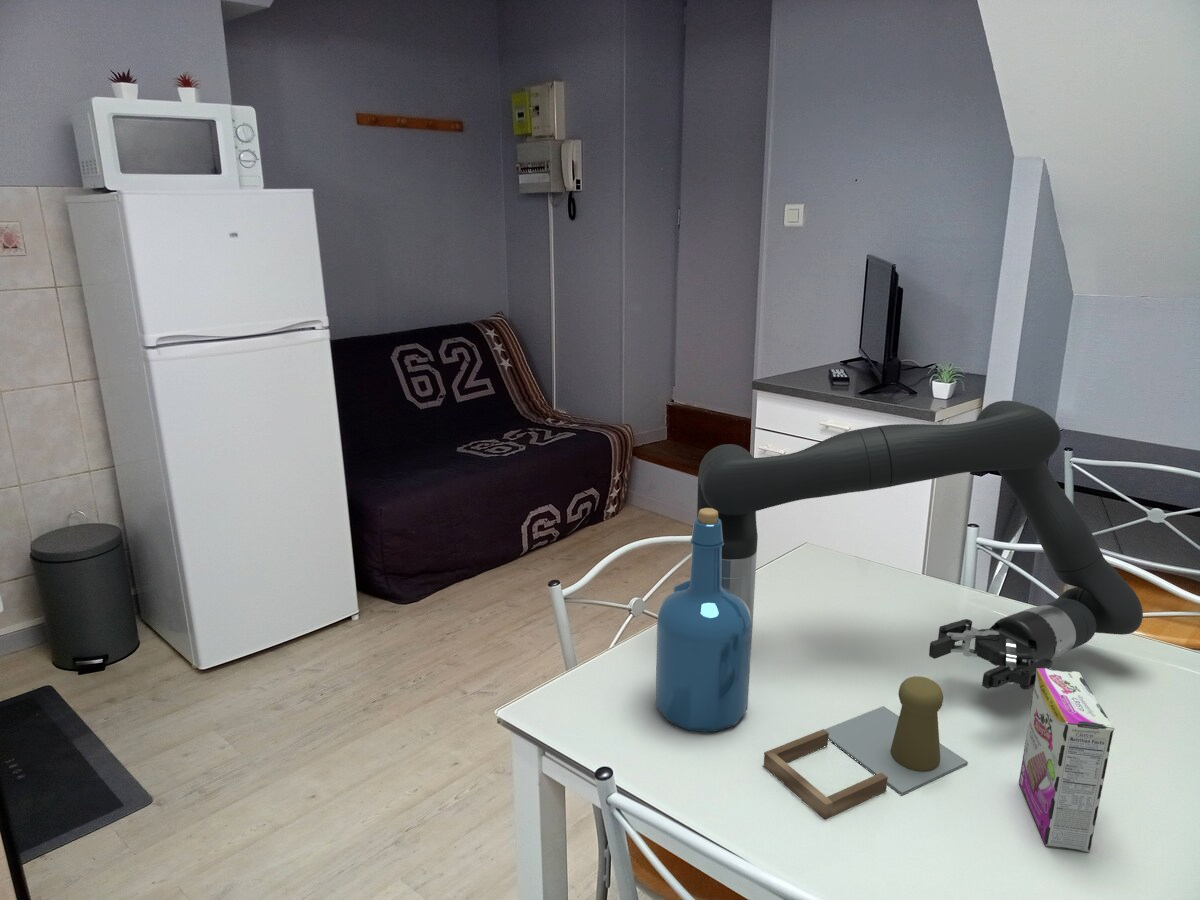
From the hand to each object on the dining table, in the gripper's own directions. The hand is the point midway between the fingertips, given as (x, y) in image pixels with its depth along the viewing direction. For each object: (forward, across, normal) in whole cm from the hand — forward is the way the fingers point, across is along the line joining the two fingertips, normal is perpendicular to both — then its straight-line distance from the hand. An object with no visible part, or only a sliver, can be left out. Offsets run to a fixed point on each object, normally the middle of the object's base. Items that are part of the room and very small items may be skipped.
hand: (957, 665), depth 111 cm
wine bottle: (+28, -20, +9) cm, 35 cm away
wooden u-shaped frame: (+23, 0, +9) cm, 24 cm away
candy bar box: (+5, +18, +9) cm, 21 cm away
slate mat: (+11, 0, +9) cm, 14 cm away
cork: (+10, +3, +8) cm, 14 cm away
